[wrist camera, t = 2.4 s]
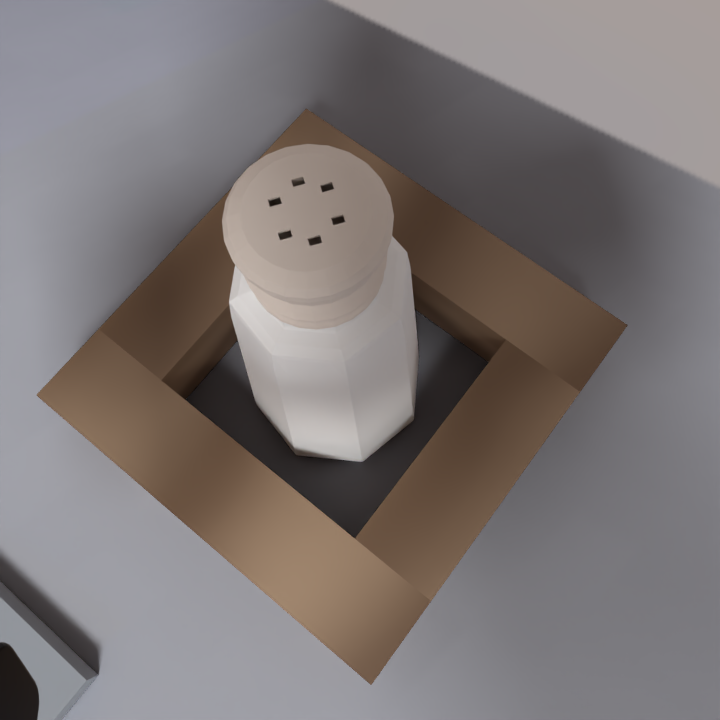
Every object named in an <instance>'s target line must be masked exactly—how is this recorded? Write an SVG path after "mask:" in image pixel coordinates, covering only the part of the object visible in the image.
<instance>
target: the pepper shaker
mask: <svg viewBox="0 0 720 720" xmlns="http://www.w3.org/2000/svg"><path fill="white" fill-rule="evenodd" d="M393 221H394V213H393V208H392V203H391V198H390V195H389V193H388V191H387V189H386V187H385V185H384V183H383V181H382V179H381V178H380V177H379V176H378V175H377V173H376V172H375V171H374V170H373V169H372V168H371V167H370V166H369V165H368V164H367V163H366V162H364V161H363V160H361V159H359V158H358V157H356V156H355V155H353V154H351V153H350V152H347V151H344V150H341V149H338V148H335V147H332V146H327V145H315V144H303V145H296V146H290V147H285V148H282V149H280V150H277V151H275V152H272V153H269V154H267V155H265V156H264V157H262V158H261V159H259V160H258V161H256V162H255V163H254V164H252V165H251V166H249V167H248V168H247V169H246V170H245V172H244V173H243V174H242V175H241V176H240V177H239V178H238V179H237V181H236V182H235V183H234V185H233V187H232V189H231V191H230V193H229V195H228V197H227V199H226V201H225V207H224V212H223V218H222V227H223V236H224V242H225V245H226V247H227V249H228V252H229V254H230V256H231V259H232V261H233V262H234V264H235V268H234V274H233V280H232V286H231V292H230V298H229V306H230V312H231V318H232V322H233V325H234V329H235V332H236V335H237V339H238V342H239V346H240V349H241V353H242V356H243V360H244V363H245V367H246V370H247V374H248V377H249V381H250V384H251V388H252V391H253V395H254V398H255V402H256V405H257V406H258V407H259V408H260V410H261V411H262V412H263V414H264V415H265V416H266V417H267V419H268V420H269V421H270V423H271V424H272V425H273V426H274V428H275V429H276V430H277V431H278V433H279V434H280V435H281V437H282V438H283V439H284V440H285V442H286V443H287V444H288V446H289V447H290V448H291V449H292V451H293V452H294V453H295V455H300V456H309V457H319V458H329V459H338V460H348V461H358V462H363V461H364V460H366V459H367V458H368V457H369V456H371V455H372V454H373V453H374V452H375V451H377V450H378V449H379V448H380V447H382V446H383V445H384V444H385V443H386V442H388V441H389V440H390V439H391V438H393V437H394V436H395V435H396V434H398V433H399V432H400V431H401V430H402V429H404V428H405V427H406V426H407V425H409V424H410V423H411V422H412V421H413V420H414V413H415V401H416V389H417V377H418V365H419V350H418V340H417V329H416V319H415V309H414V298H413V288H412V278H411V267H410V263H409V258H408V254H407V252H406V250H405V249H404V248H403V247H402V246H401V245H400V244H399V243H398V242H397V241H396V239H395V238H394V237H393V236H392V231H393Z"/></svg>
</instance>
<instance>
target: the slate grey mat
mask: <svg viewBox="0 0 720 720" xmlns="http://www.w3.org/2000/svg"><path fill="white" fill-rule="evenodd" d="M0 642H5V643H7V644H9V645H11V647H12V648H13V649H14V651H15V652H16V654H17V655H18V657H19V658H20V659H21V661H22V662H23V664H24V665H25V667H26V668H27V670H28V671H29V673H30V674H31V676H32V677H33V679H34V680H35V682H36V684H37V687H38V691H39V711H38V720H62V719H63V718H64V716H65V715H66V714H67V713H68V711H69V710H70V709H71V708H72V707H73V705H74V704H75V703H76V702H77V700H78V699H79V698H80V697H81V696H82V694H83V693H84V692H85V691H86V689H87V688H88V687H89V686H90V685H91V683H92V682H93V681H94V680H95V678H96V677H97V676H98V674H97V673H96V672H95V671H94V670H93V669H92V668H90V667H89V666H88V665H87V664H86V663H85V662H84V661H83V660H82V659H81V658H80V657H79V656H78V655H77V654H76V653H75V652H74V651H73V650H72V649H71V648H70V647H69V646H67V645H66V644H65V643H64V642H63V641H62V640H61V639H60V638H59V637H58V636H57V635H56V634H55V633H54V632H53V631H52V630H51V629H50V628H49V627H48V626H47V625H46V624H44V623H43V622H42V621H41V620H40V619H39V618H38V617H37V616H36V615H35V614H34V613H33V612H32V611H31V610H30V609H29V608H28V607H27V606H26V605H25V604H24V603H22V602H21V601H20V600H19V599H18V598H17V597H16V596H15V595H14V594H13V593H12V592H11V591H10V590H9V589H8V588H7V587H6V586H5V585H4V584H3V583H2V582H1V581H0Z"/></svg>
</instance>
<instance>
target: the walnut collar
mask: <svg viewBox="0 0 720 720" xmlns="http://www.w3.org/2000/svg"><path fill="white" fill-rule="evenodd" d="M303 144H315V145H327V146H332V147H335V148H338V149H341V150H344V151H347V152H350V153H351V154H353V155H355V156H356V157H358V158H359V159H361V160H363V161H364V162H366V163H367V164H368V165H369V166H370V167H371V168H372V169H373V170H374V171H375V172H376V173H377V175H378V176H379V177H380V178H381V179H382V181H383V183H384V185H385V187H386V189H387V191H388V193H389V195H390V198H391V203H392V208H393V213H394V221H393V231H392V236H393V237H394V238H395V239H396V241H397V242H398V243H399V244H400V245H401V246H402V247H403V248H404V249H405V250H406V252H407V254H408V258H409V263H410V267H411V278H412V288H413V298H414V309H415V310H417V311H418V312H420V313H421V314H422V315H424V316H425V317H427V318H428V319H429V320H431V321H432V322H433V323H435V324H436V325H438V326H439V327H440V328H442V329H443V330H445V331H446V332H447V333H449V334H450V335H452V336H453V337H454V338H456V339H457V340H459V341H460V342H461V343H463V344H464V345H465V346H467V347H468V348H470V349H471V350H472V351H474V352H475V353H477V354H478V355H479V356H481V357H482V358H484V359H485V360H486V361H488V362H489V363H488V364H487V365H486V367H485V368H484V369H483V371H482V372H481V373H480V375H479V376H478V377H477V379H476V380H475V381H474V382H473V384H472V385H471V386H470V388H469V389H468V390H467V392H466V393H465V394H464V396H463V397H462V398H461V400H460V401H459V402H458V403H457V405H456V406H455V407H454V409H453V410H452V411H451V413H450V414H449V415H448V417H447V418H446V419H445V421H444V422H443V423H442V424H441V426H440V427H439V428H438V430H437V431H436V432H435V434H434V435H433V436H432V438H431V439H430V440H429V442H428V443H427V444H426V446H425V447H424V448H423V449H422V451H421V452H420V453H419V455H418V456H417V457H416V459H415V460H414V461H413V463H412V464H411V465H410V467H409V468H408V469H407V470H406V472H405V473H404V474H403V476H402V477H401V478H400V480H399V481H398V482H397V484H396V485H395V486H394V488H393V489H392V490H391V492H390V493H389V494H388V495H387V497H386V498H385V499H384V501H383V502H382V503H381V505H380V506H379V507H378V509H377V510H376V511H375V513H374V514H373V515H372V516H371V518H370V519H369V520H368V522H367V523H366V524H365V526H364V527H363V528H362V530H361V531H360V532H359V534H358V535H357V536H356V537H355V538H354V537H352V536H351V535H350V534H349V533H348V532H346V531H345V530H344V529H343V528H341V527H340V526H339V525H338V524H337V523H335V522H334V521H333V520H332V519H330V518H329V517H328V516H327V515H326V514H324V513H323V512H322V511H321V510H319V509H318V508H317V507H316V506H314V505H313V504H312V503H311V502H310V501H308V500H307V499H306V498H305V497H303V496H302V495H301V494H300V493H299V492H297V491H296V490H295V489H294V488H292V487H291V486H290V485H289V484H288V483H286V482H285V481H284V480H283V479H281V478H280V477H279V476H278V475H277V474H275V473H274V472H273V471H272V470H270V469H269V468H268V467H267V466H266V465H264V464H263V463H262V462H261V461H259V460H258V459H257V458H256V457H255V456H253V455H252V454H251V453H250V452H248V451H247V450H246V449H245V448H244V447H242V446H241V445H240V444H239V443H237V442H236V441H235V440H234V439H233V438H231V437H230V436H229V435H228V434H226V433H225V432H224V431H223V430H222V429H220V428H219V427H218V426H217V425H215V424H214V423H213V422H212V421H211V420H209V419H208V418H207V417H206V416H204V415H203V414H202V413H201V412H200V411H198V410H197V409H196V408H195V407H193V406H192V405H191V404H190V403H189V402H187V401H186V398H187V397H188V396H189V395H190V394H191V393H192V392H193V390H194V389H195V388H196V387H197V386H198V385H199V384H200V382H201V381H202V380H203V379H204V378H205V377H206V376H207V375H208V373H209V372H210V371H211V370H212V369H213V368H214V367H215V365H216V364H217V363H218V362H219V361H220V360H221V359H222V357H223V356H224V355H225V354H226V353H227V352H228V351H229V349H230V348H231V347H232V346H233V345H234V344H235V343H236V341H237V340H238V339H237V335H236V332H235V329H234V325H233V322H232V318H231V312H230V306H229V298H230V292H231V286H232V280H233V274H234V268H235V264H234V262H233V261H232V259H231V256H230V254H229V252H228V249H227V247H226V245H225V242H224V236H223V227H222V218H223V212H224V207H225V201H226V199H227V197H228V195H229V193H230V191H231V189H232V188H231V189H230V190H229V191H228V192H227V193H226V194H225V195H224V197H223V198H222V199H221V200H220V201H219V202H218V203H217V204H216V205H215V206H214V207H213V208H212V209H211V210H210V211H209V212H208V213H207V215H206V216H205V217H204V218H203V219H202V220H201V221H200V222H199V223H198V224H197V225H196V226H195V227H194V228H193V229H192V230H191V232H190V233H189V234H188V235H187V236H186V237H185V238H184V239H183V240H182V241H181V242H180V243H179V244H178V245H177V246H176V247H175V248H174V250H173V251H172V252H171V253H170V254H169V255H168V256H167V257H166V258H165V259H164V260H163V261H162V262H161V263H160V264H159V265H158V267H157V268H156V269H155V270H154V271H153V272H152V273H151V274H150V275H149V276H148V277H147V278H146V279H145V280H144V281H143V282H142V284H141V285H140V286H139V287H138V288H137V289H136V290H135V291H134V292H133V293H132V294H131V295H130V296H129V297H128V298H127V299H126V300H125V302H124V303H123V304H122V305H121V306H120V307H119V308H118V309H117V310H116V311H115V312H114V313H113V314H112V315H111V316H110V317H109V319H108V320H107V321H106V322H105V323H104V324H103V325H102V326H101V327H100V328H99V329H98V330H97V331H96V332H95V333H94V334H93V335H92V337H91V338H90V339H89V340H88V341H87V342H86V343H85V344H84V345H83V346H82V347H81V348H80V349H79V350H78V351H77V352H76V354H75V355H74V356H73V357H72V358H71V359H70V360H69V361H68V362H67V363H66V364H65V365H64V366H63V367H62V368H61V369H60V371H59V372H58V373H57V374H56V375H55V376H54V377H53V378H52V379H51V380H50V381H49V382H48V383H47V384H46V385H45V386H44V387H43V389H42V390H41V391H40V392H39V393H38V394H37V396H38V397H39V398H40V399H41V400H43V401H44V402H45V403H46V404H47V405H48V406H49V407H51V408H52V409H53V410H54V411H55V412H56V413H58V414H59V415H60V416H61V417H62V418H63V419H64V420H66V421H67V422H68V423H69V424H70V425H71V426H73V427H74V428H75V429H76V430H77V431H78V432H79V433H81V434H82V435H83V436H84V437H85V438H86V439H88V440H89V441H90V442H91V443H92V444H93V445H95V446H96V447H97V448H98V449H99V450H100V451H101V452H103V453H104V454H105V455H106V456H107V457H108V458H110V459H111V460H112V461H113V462H114V463H115V464H116V465H118V466H119V467H120V468H121V469H122V470H123V471H125V472H126V473H127V474H128V475H129V476H130V477H131V478H133V479H134V480H135V481H136V482H137V483H138V484H140V485H141V486H142V487H143V488H144V489H145V490H146V491H148V492H149V493H150V494H151V495H152V496H153V497H155V498H156V499H157V500H158V501H159V502H160V503H161V504H163V505H164V506H165V507H166V508H167V509H168V510H170V511H171V512H172V513H173V514H174V515H175V516H177V517H178V518H179V519H180V520H181V521H182V522H183V523H185V524H186V525H187V526H188V527H189V528H190V529H192V530H193V531H194V532H195V533H196V534H197V535H198V536H200V537H201V538H202V539H203V540H204V541H205V542H207V543H208V544H209V545H210V546H211V547H212V548H213V549H215V550H216V551H217V552H218V553H219V554H220V555H222V556H223V557H224V558H225V559H226V560H227V561H228V562H230V563H231V564H232V565H233V566H234V567H235V568H237V569H238V570H239V571H240V572H241V573H242V574H243V575H245V576H246V577H247V578H248V579H249V580H250V581H252V582H253V583H254V584H255V585H256V586H257V587H259V588H260V589H261V590H262V591H263V592H264V593H265V594H267V595H268V596H269V597H270V598H271V599H272V600H274V601H275V602H276V603H277V604H278V605H279V606H280V607H282V608H283V609H284V610H285V611H286V612H287V613H289V614H290V615H291V616H292V617H293V618H294V619H295V620H297V621H298V622H299V623H300V624H301V625H302V626H304V627H305V628H306V629H307V630H308V631H309V632H310V633H312V634H313V635H314V636H315V637H316V638H317V639H319V640H320V641H321V642H322V643H323V644H324V645H325V646H327V647H328V648H329V649H330V650H331V651H332V652H334V653H335V654H336V655H337V656H338V657H339V658H341V659H342V660H343V661H344V662H345V663H346V664H347V665H349V666H350V667H351V668H352V669H353V670H354V671H356V672H357V673H358V674H359V675H360V676H361V677H362V678H364V679H365V680H366V681H367V682H368V683H369V684H371V685H372V683H373V682H374V680H375V679H376V678H377V676H378V675H379V673H380V672H381V671H382V669H383V668H384V666H385V665H386V663H387V662H388V661H389V659H390V658H391V656H392V655H393V654H394V652H395V651H396V649H397V648H398V647H399V645H400V644H401V642H402V641H403V640H404V638H405V637H406V635H407V634H408V633H409V631H410V630H411V628H412V627H413V626H414V624H415V623H416V621H417V620H418V619H419V617H420V616H421V614H422V613H423V612H424V610H425V609H426V607H427V606H428V605H429V603H430V602H431V600H432V599H433V598H434V596H435V595H436V593H437V592H438V591H439V589H440V588H441V586H442V585H443V584H444V582H445V581H446V579H447V578H448V577H449V575H450V574H451V572H452V571H453V569H454V568H455V567H456V565H457V564H458V562H459V561H460V560H461V558H462V557H463V555H464V554H465V553H466V551H467V550H468V548H469V547H470V546H471V544H472V543H473V541H474V540H475V539H476V537H477V536H478V534H479V533H480V532H481V530H482V529H483V527H484V526H485V525H486V523H487V522H488V520H489V519H490V518H491V516H492V515H493V513H494V512H495V511H496V509H497V508H498V506H499V505H500V504H501V502H502V501H503V499H504V498H505V497H506V495H507V494H508V492H509V491H510V490H511V488H512V487H513V485H514V484H515V482H516V481H517V480H518V478H519V477H520V475H521V474H522V473H523V471H524V470H525V468H526V467H527V466H528V464H529V463H530V461H531V460H532V459H533V457H534V456H535V454H536V453H537V452H538V450H539V449H540V447H541V446H542V445H543V443H544V442H545V440H546V439H547V438H548V436H549V435H550V433H551V432H552V431H553V429H554V428H555V426H556V425H557V424H558V422H559V421H560V419H561V418H562V417H563V415H564V414H565V412H566V411H567V410H568V408H569V407H570V405H571V404H572V403H573V401H574V400H575V398H576V397H577V396H578V394H579V393H580V391H581V390H582V388H583V387H584V386H585V384H586V383H587V381H588V380H589V379H590V377H591V376H592V374H593V373H594V372H595V370H596V369H597V367H598V366H599V365H600V363H601V362H602V360H603V359H604V358H605V356H606V355H607V353H608V352H609V351H610V349H611V348H612V346H613V345H614V344H615V342H616V341H617V339H618V338H619V337H620V335H621V334H622V332H623V331H624V330H625V328H626V327H627V324H625V323H624V322H622V321H621V320H619V319H618V318H616V317H615V316H613V315H612V314H610V313H609V312H607V311H606V310H604V309H603V308H601V307H600V306H598V305H597V304H595V303H594V302H592V301H591V300H589V299H588V298H586V297H585V296H584V295H582V294H581V293H579V292H578V291H576V290H575V289H573V288H572V287H570V286H569V285H567V284H566V283H564V282H563V281H561V280H560V279H558V278H557V277H555V276H554V275H552V274H551V273H549V272H548V271H546V270H545V269H543V268H542V267H540V266H539V265H538V264H536V263H535V262H533V261H532V260H530V259H529V258H527V257H526V256H524V255H523V254H521V253H520V252H518V251H517V250H515V249H514V248H512V247H511V246H509V245H508V244H506V243H505V242H503V241H502V240H500V239H499V238H497V237H496V236H495V235H493V234H492V233H490V232H489V231H487V230H486V229H484V228H483V227H481V226H480V225H478V224H477V223H475V222H474V221H472V220H471V219H469V218H468V217H466V216H465V215H463V214H462V213H460V212H459V211H457V210H456V209H454V208H453V207H451V206H450V205H449V204H447V203H446V202H444V201H443V200H441V199H440V198H438V197H437V196H435V195H434V194H432V193H431V192H429V191H428V190H426V189H425V188H423V187H422V186H420V185H419V184H417V183H416V182H414V181H413V180H411V179H410V178H408V177H407V176H405V175H404V174H403V173H401V172H400V171H398V170H397V169H395V168H394V167H392V166H391V165H389V164H388V163H386V162H385V161H383V160H382V159H380V158H379V157H377V156H376V155H374V154H373V153H371V152H370V151H368V150H367V149H365V148H364V147H362V146H361V145H360V144H358V143H357V142H355V141H354V140H352V139H351V138H349V137H348V136H346V135H345V134H343V133H342V132H340V131H339V130H337V129H336V128H334V127H333V126H331V125H330V124H328V123H327V122H325V121H324V120H322V119H321V118H319V117H318V116H316V115H315V114H314V113H312V112H311V111H309V110H308V109H305V111H304V112H303V113H302V114H301V115H300V116H299V117H298V118H297V119H296V120H295V121H294V122H293V123H292V124H291V125H290V126H289V128H288V129H287V130H286V131H285V132H284V133H283V134H282V135H281V136H280V137H279V138H278V139H277V140H276V141H275V142H274V143H273V145H272V146H271V147H270V148H269V149H268V150H267V151H266V152H265V153H264V154H263V155H262V156H261V157H260V158H259V159H261V158H262V157H264V156H265V155H267V154H269V153H272V152H275V151H277V150H280V149H282V148H285V147H290V146H296V145H303ZM259 159H258V160H259ZM258 160H257V161H258Z"/></svg>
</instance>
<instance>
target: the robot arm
mask: <svg viewBox="0 0 720 720" xmlns="http://www.w3.org/2000/svg"><path fill="white" fill-rule="evenodd" d="M38 711H39V691H38V687H37V684H36V682H35V680H34V679H33V677H32V676H31V674H30V673H29V671H28V670H27V668H26V667H25V665H24V664H23V662H22V661H21V659H20V658H19V657H18V655H17V654H16V652H15V651H14V649H13V648H12V647H11V645H9V644H7V643H5V642H0V720H38Z"/></svg>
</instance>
